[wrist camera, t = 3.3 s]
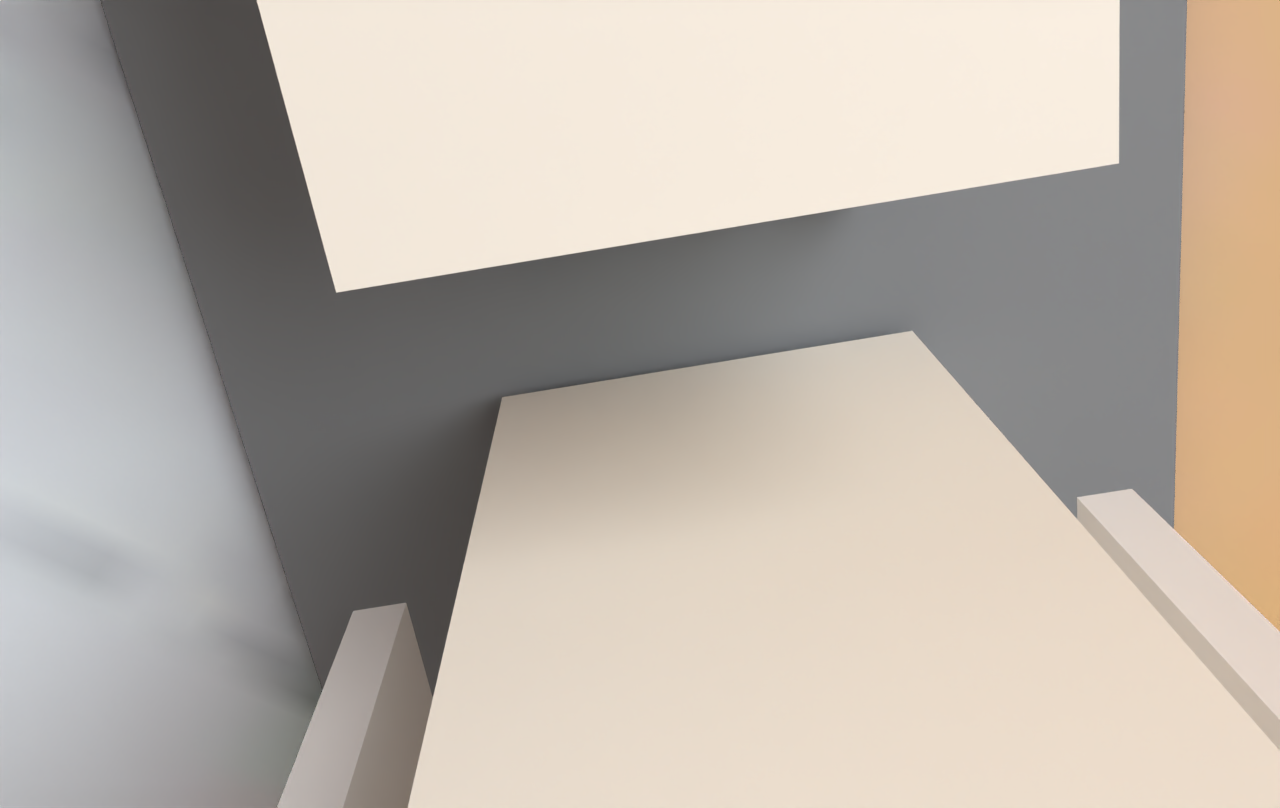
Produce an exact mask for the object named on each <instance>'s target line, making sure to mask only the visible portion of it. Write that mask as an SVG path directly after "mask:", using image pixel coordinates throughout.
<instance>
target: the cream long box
mask: <svg viewBox="0 0 1280 808" xmlns="http://www.w3.org/2000/svg"><path fill="white" fill-rule="evenodd" d="M257 3H258V7H259V11H260V14H261V18H262V22H263V26H264V29H265V33H266V37H267V40H268V44H269V48H270V51H271V55H272V59H273V62H274V66H275V70H276V73H277V77H278V81H279V84H280V88H281V92H282V95H283V99H284V103H285V106H286V110H287V114H288V117H289V121H290V125H291V128H292V132H293V136H294V139H295V143H296V147H297V150H298V154H299V158H300V161H301V165H302V169H303V172H304V176H305V180H306V183H307V187H308V191H309V195H310V198H311V202H312V206H313V209H314V213H315V217H316V220H317V224H318V228H319V231H320V235H321V239H322V242H323V246H324V250H325V253H326V257H327V261H328V264H329V268H330V272H331V275H332V279H333V283H334V286H335V290H336V293H337V292H343V291H349V290H355V289H361V288H367V287H373V286H379V285H385V284H391V283H398V282H404V281H410V280H416V279H422V278H428V277H434V276H440V275H446V274H452V273H458V272H464V271H470V270H476V269H482V268H488V267H494V266H501V265H507V264H513V263H519V262H525V261H531V260H537V259H543V258H549V257H555V256H561V255H567V254H573V253H579V252H585V251H591V250H597V249H603V248H610V247H616V246H622V245H628V244H634V243H640V242H646V241H652V240H658V239H664V238H670V237H676V236H682V235H688V234H694V233H700V232H706V231H712V230H719V229H725V228H731V227H737V226H743V225H749V224H755V223H761V222H767V221H773V220H779V219H785V218H791V217H797V216H803V215H809V214H815V213H822V212H828V211H834V210H840V209H846V208H852V207H858V206H864V205H870V204H876V203H882V202H888V201H894V200H900V199H906V198H912V197H918V196H924V195H931V194H937V193H943V192H949V191H955V190H961V189H967V188H973V187H979V186H985V185H991V184H997V183H1003V182H1009V181H1015V180H1021V179H1027V178H1033V177H1040V176H1046V175H1052V174H1058V173H1064V172H1070V171H1076V170H1082V169H1088V168H1094V167H1100V166H1106V165H1112V164H1118V163H1119V25H1120V0H257Z"/></svg>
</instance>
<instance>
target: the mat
mask: <svg viewBox="0 0 1280 808" xmlns="http://www.w3.org/2000/svg"><path fill="white" fill-rule="evenodd" d="M100 1H101V4H102V7H103V10H104V13H105V16H106V19H107V22H108V26H109V29H110V32H111V35H112V38H113V41H114V44H115V47H116V50H117V53H118V57H119V60H120V63H121V66H122V69H123V72H124V75H125V78H126V81H127V84H128V88H129V91H130V94H131V97H132V100H133V103H134V106H135V109H136V112H137V116H138V119H139V122H140V125H141V128H142V131H143V134H144V137H145V140H146V143H147V147H148V150H149V153H150V156H151V159H152V162H153V165H154V168H155V171H156V175H157V178H158V181H159V184H160V187H161V190H162V193H163V196H164V199H165V202H166V206H167V209H168V212H169V215H170V218H171V221H172V224H173V227H174V230H175V234H176V237H177V240H178V243H179V246H180V249H181V252H182V255H183V258H184V261H185V265H186V268H187V271H188V274H189V277H190V280H191V283H192V286H193V289H194V293H195V296H196V299H197V302H198V305H199V308H200V311H201V314H202V317H203V320H204V324H205V327H206V330H207V333H208V336H209V339H210V342H211V345H212V348H213V351H214V355H215V358H216V361H217V364H218V367H219V370H220V373H221V376H222V379H223V383H224V386H225V389H226V392H227V395H228V398H229V401H230V404H231V407H232V410H233V414H234V417H235V420H236V423H237V426H238V429H239V432H240V435H241V438H242V442H243V445H244V448H245V451H246V454H247V457H248V460H249V463H250V466H251V469H252V473H253V476H254V479H255V482H256V485H257V488H258V491H259V494H260V497H261V501H262V504H263V507H264V510H265V513H266V516H267V519H268V522H269V525H270V528H271V532H272V535H273V538H274V541H275V544H276V547H277V550H278V553H279V556H280V560H281V563H282V566H283V569H284V572H285V575H286V578H287V581H288V584H289V587H290V591H291V594H292V597H293V600H294V603H295V606H296V609H297V612H298V615H299V618H300V622H301V625H302V628H303V631H304V634H305V637H306V640H307V643H308V646H309V650H310V653H311V656H312V659H313V662H314V665H315V668H316V671H317V674H318V677H319V681H320V684H321V687H322V690H323V687H324V685H325V682H326V680H327V677H328V675H329V672H330V669H331V667H332V664H333V662H334V659H335V657H336V654H337V651H338V649H339V646H340V644H341V641H342V639H343V636H344V633H345V631H346V628H347V626H348V623H349V620H350V618H351V615H352V613H353V611H356V610H362V609H368V608H375V607H381V606H388V605H394V604H400V603H406V604H407V607H408V611H409V614H410V618H411V622H412V625H413V629H414V632H415V636H416V640H417V643H418V647H419V650H420V654H421V658H422V661H423V665H424V668H425V672H426V676H427V679H428V683H429V686H430V690H431V694H432V697H433V695H434V691H435V687H436V682H437V678H438V674H439V669H440V665H441V661H442V656H443V652H444V648H445V643H446V639H447V635H448V630H449V626H450V622H451V617H452V613H453V609H454V604H455V600H456V596H457V591H458V587H459V583H460V578H461V574H462V570H463V565H464V561H465V557H466V552H467V548H468V543H469V539H470V535H471V530H472V526H473V522H474V517H475V513H476V509H477V504H478V500H479V496H480V491H481V487H482V483H483V478H484V474H485V470H486V465H487V461H488V457H489V452H490V448H491V444H492V439H493V435H494V431H495V426H496V422H497V418H498V413H499V409H500V405H501V400H502V397H506V396H513V395H519V394H525V393H531V392H537V391H544V390H550V389H556V388H562V387H568V386H574V385H581V384H587V383H593V382H599V381H605V380H612V379H618V378H624V377H630V376H636V375H642V374H649V373H655V372H661V371H667V370H673V369H679V368H686V367H692V366H698V365H704V364H710V363H717V362H723V361H729V360H735V359H741V358H747V357H754V356H760V355H766V354H772V353H778V352H784V351H791V350H797V349H803V348H809V347H815V346H822V345H828V344H834V343H840V342H846V341H852V340H859V339H865V338H871V337H877V336H883V335H890V334H896V333H902V332H908V331H913V332H914V333H915V334H916V336H917V337H918V338H919V339H920V340H921V341H922V342H923V344H924V345H925V346H926V347H927V348H928V349H929V350H930V352H931V353H932V354H933V355H934V356H935V357H936V358H937V360H938V361H939V362H940V363H941V364H942V365H943V366H944V368H945V369H946V370H947V371H948V372H949V373H950V374H951V376H952V377H953V378H954V379H955V380H956V381H957V382H958V384H959V385H960V386H961V387H962V388H963V389H964V390H965V392H966V393H967V394H968V395H969V396H970V397H971V398H972V400H973V401H974V402H975V403H976V404H977V405H978V406H979V408H980V409H981V410H982V411H983V412H984V413H985V414H986V416H987V417H988V418H989V419H990V420H991V421H992V422H993V424H994V425H995V426H996V427H997V428H998V429H999V430H1000V432H1001V433H1002V434H1003V435H1004V436H1005V437H1006V438H1007V440H1008V441H1009V442H1010V443H1011V444H1012V445H1013V446H1014V448H1015V449H1016V450H1017V451H1018V452H1019V453H1020V454H1021V456H1022V457H1023V458H1024V459H1025V460H1026V461H1027V462H1028V464H1029V465H1030V466H1031V467H1032V468H1033V469H1034V470H1035V472H1036V473H1037V474H1038V475H1039V476H1040V477H1041V478H1042V480H1043V481H1044V482H1045V483H1046V484H1047V485H1048V486H1049V488H1050V489H1051V490H1052V491H1053V492H1054V493H1055V494H1056V496H1057V497H1058V498H1059V499H1060V500H1061V501H1062V502H1063V504H1064V505H1065V506H1066V507H1067V508H1068V509H1069V510H1070V512H1071V513H1072V514H1073V515H1074V516H1075V517H1076V518H1077V497H1082V496H1088V495H1095V494H1101V493H1107V492H1114V491H1120V490H1127V489H1133V490H1134V491H1135V492H1136V493H1137V494H1138V495H1139V496H1140V497H1141V498H1142V499H1143V500H1144V501H1145V502H1146V503H1147V504H1148V505H1149V506H1150V507H1151V508H1152V509H1153V510H1154V511H1155V512H1157V513H1158V514H1159V515H1160V516H1161V517H1162V518H1163V519H1164V520H1165V521H1166V522H1167V523H1168V524H1169V525H1170V526H1171V527H1172V528H1173V529H1174V498H1175V458H1176V418H1177V378H1178V338H1179V298H1180V258H1181V218H1182V178H1183V138H1184V98H1185V59H1186V19H1187V0H1120V25H1119V163H1118V164H1112V165H1106V166H1100V167H1094V168H1088V169H1082V170H1076V171H1070V172H1064V173H1058V174H1052V175H1046V176H1040V177H1033V178H1027V179H1021V180H1015V181H1009V182H1003V183H997V184H991V185H985V186H979V187H973V188H967V189H961V190H955V191H949V192H943V193H937V194H931V195H924V196H918V197H912V198H906V199H900V200H894V201H888V202H882V203H876V204H870V205H864V206H858V207H852V208H846V209H840V210H834V211H828V212H822V213H815V214H809V215H803V216H797V217H791V218H785V219H779V220H773V221H767V222H761V223H755V224H749V225H743V226H737V227H731V228H725V229H719V230H712V231H706V232H700V233H694V234H688V235H682V236H676V237H670V238H664V239H658V240H652V241H646V242H640V243H634V244H628V245H622V246H616V247H610V248H603V249H597V250H591V251H585V252H579V253H573V254H567V255H561V256H555V257H549V258H543V259H537V260H531V261H525V262H519V263H513V264H507V265H501V266H494V267H488V268H482V269H476V270H470V271H464V272H458V273H452V274H446V275H440V276H434V277H428V278H422V279H416V280H410V281H404V282H398V283H391V284H385V285H379V286H373V287H367V288H361V289H355V290H349V291H343V292H337V293H336V290H335V286H334V283H333V279H332V275H331V272H330V268H329V264H328V261H327V257H326V253H325V250H324V246H323V242H322V239H321V235H320V231H319V228H318V224H317V220H316V217H315V213H314V209H313V206H312V202H311V198H310V195H309V191H308V187H307V183H306V180H305V176H304V172H303V169H302V165H301V161H300V158H299V154H298V150H297V147H296V143H295V139H294V136H293V132H292V128H291V125H290V121H289V117H288V114H287V110H286V106H285V103H284V99H283V95H282V92H281V88H280V84H279V81H278V77H277V73H276V70H275V66H274V62H273V59H272V55H271V51H270V48H269V44H268V40H267V37H266V33H265V29H264V26H263V22H262V18H261V14H260V11H259V7H258V3H257V0H100Z"/></svg>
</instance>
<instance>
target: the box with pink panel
mask: <svg viewBox="0 0 1280 808" xmlns="http://www.w3.org/2000/svg"><path fill="white" fill-rule="evenodd" d="M408 808H1280V750H1279V749H1278V748H1277V747H1276V746H1275V745H1274V744H1273V742H1272V741H1271V740H1270V739H1269V738H1268V737H1267V736H1266V734H1265V733H1264V732H1263V731H1262V730H1261V729H1260V728H1259V726H1258V725H1257V724H1256V723H1255V722H1254V721H1253V720H1252V718H1251V717H1250V716H1249V715H1248V714H1247V713H1246V712H1245V710H1244V709H1243V708H1242V707H1241V706H1240V705H1239V704H1238V702H1237V701H1236V700H1235V699H1234V698H1233V697H1232V696H1231V694H1230V693H1229V692H1228V691H1227V690H1226V689H1225V688H1224V686H1223V685H1222V684H1221V683H1220V682H1219V681H1218V680H1217V678H1216V677H1215V676H1214V675H1213V674H1212V673H1211V672H1210V670H1209V669H1208V668H1207V667H1206V666H1205V665H1204V664H1203V662H1202V661H1201V660H1200V659H1199V658H1198V657H1197V656H1196V654H1195V653H1194V652H1193V651H1192V650H1191V649H1190V648H1189V646H1188V645H1187V644H1186V643H1185V642H1184V641H1183V640H1182V638H1181V637H1180V636H1179V635H1178V634H1177V633H1176V632H1175V630H1174V629H1173V628H1172V627H1171V626H1170V625H1169V624H1168V622H1167V621H1166V620H1165V619H1164V618H1163V617H1162V616H1161V614H1160V613H1159V612H1158V611H1157V610H1156V609H1155V608H1154V606H1153V605H1152V604H1151V603H1150V602H1149V601H1148V600H1147V598H1146V597H1145V596H1144V595H1143V594H1142V593H1141V592H1140V590H1139V589H1138V588H1137V587H1136V586H1135V585H1134V584H1133V582H1132V581H1131V580H1130V579H1129V578H1128V577H1127V576H1126V574H1125V573H1124V572H1123V571H1122V570H1121V569H1120V568H1119V566H1118V565H1117V564H1116V563H1115V562H1114V561H1113V560H1112V558H1111V557H1110V556H1109V555H1108V554H1107V553H1106V552H1105V550H1104V549H1103V548H1102V547H1101V546H1100V545H1099V544H1098V542H1097V541H1096V540H1095V539H1094V538H1093V537H1092V536H1091V534H1090V533H1089V532H1088V531H1087V530H1086V529H1085V528H1084V526H1083V525H1082V524H1081V523H1080V522H1079V521H1078V520H1077V518H1076V517H1075V516H1074V515H1073V514H1072V513H1071V512H1070V510H1069V509H1068V508H1067V507H1066V506H1065V505H1064V504H1063V502H1062V501H1061V500H1060V499H1059V498H1058V497H1057V496H1056V494H1055V493H1054V492H1053V491H1052V490H1051V489H1050V488H1049V486H1048V485H1047V484H1046V483H1045V482H1044V481H1043V480H1042V478H1041V477H1040V476H1039V475H1038V474H1037V473H1036V472H1035V470H1034V469H1033V468H1032V467H1031V466H1030V465H1029V464H1028V462H1027V461H1026V460H1025V459H1024V458H1023V457H1022V456H1021V454H1020V453H1019V452H1018V451H1017V450H1016V449H1015V448H1014V446H1013V445H1012V444H1011V443H1010V442H1009V441H1008V440H1007V438H1006V437H1005V436H1004V435H1003V434H1002V433H1001V432H1000V430H999V429H998V428H997V427H996V426H995V425H994V424H993V422H992V421H991V420H990V419H989V418H988V417H987V416H986V414H985V413H984V412H983V411H982V410H981V409H980V408H979V406H978V405H977V404H976V403H975V402H974V401H973V400H972V398H971V397H970V396H969V395H968V394H967V393H966V392H965V390H964V389H963V388H962V387H961V386H960V385H959V384H958V382H957V381H956V380H955V379H954V378H953V377H952V376H951V374H950V373H949V372H948V371H947V370H946V369H945V368H944V366H943V365H942V364H941V363H940V362H939V361H938V360H937V358H936V357H935V356H934V355H933V354H932V353H931V352H930V350H929V349H928V348H927V347H926V346H925V345H924V344H923V342H922V341H921V340H920V339H919V338H918V337H917V336H916V334H915V333H914V332H913V331H908V332H902V333H896V334H890V335H883V336H877V337H871V338H865V339H859V340H852V341H846V342H840V343H834V344H828V345H822V346H815V347H809V348H803V349H797V350H791V351H784V352H778V353H772V354H766V355H760V356H754V357H747V358H741V359H735V360H729V361H723V362H717V363H710V364H704V365H698V366H692V367H686V368H679V369H673V370H667V371H661V372H655V373H649V374H642V375H636V376H630V377H624V378H618V379H612V380H605V381H599V382H593V383H587V384H581V385H574V386H568V387H562V388H556V389H550V390H544V391H537V392H531V393H525V394H519V395H513V396H506V397H502V400H501V405H500V409H499V413H498V418H497V422H496V426H495V431H494V435H493V439H492V444H491V448H490V452H489V457H488V461H487V465H486V470H485V474H484V478H483V483H482V487H481V491H480V496H479V500H478V504H477V509H476V513H475V517H474V522H473V526H472V530H471V535H470V539H469V543H468V548H467V552H466V557H465V561H464V565H463V570H462V574H461V578H460V583H459V587H458V591H457V596H456V600H455V604H454V609H453V613H452V617H451V622H450V626H449V630H448V635H447V639H446V643H445V648H444V652H443V656H442V661H441V665H440V669H439V674H438V678H437V682H436V687H435V691H434V695H433V700H432V704H431V708H430V713H429V717H428V721H427V726H426V730H425V734H424V739H423V743H422V747H421V752H420V756H419V760H418V765H417V769H416V773H415V778H414V782H413V786H412V791H411V795H410V799H409V804H408Z"/></svg>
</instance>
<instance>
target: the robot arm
mask: <svg viewBox="0 0 1280 808" xmlns="http://www.w3.org/2000/svg"><path fill="white" fill-rule="evenodd" d="M1077 520H1078V521H1079V522H1080V523H1081V524H1082V525H1083V526H1084V528H1085V529H1086V530H1087V531H1088V532H1089V533H1090V534H1091V536H1092V537H1093V538H1094V539H1095V540H1096V541H1097V542H1098V544H1099V545H1100V546H1101V547H1102V548H1103V549H1104V550H1105V552H1106V553H1107V554H1108V555H1109V556H1110V557H1111V558H1112V560H1113V561H1114V562H1115V563H1116V564H1117V565H1118V566H1119V568H1120V569H1121V570H1122V571H1123V572H1124V573H1125V574H1126V576H1127V577H1128V578H1129V579H1130V580H1131V581H1132V582H1133V584H1134V585H1135V586H1136V587H1137V588H1138V589H1139V590H1140V592H1141V593H1142V594H1143V595H1144V596H1145V597H1146V598H1147V600H1148V601H1149V602H1150V603H1151V604H1152V605H1153V606H1154V608H1155V609H1156V610H1157V611H1158V612H1159V613H1160V614H1161V616H1162V617H1163V618H1164V619H1165V620H1166V621H1167V622H1168V624H1169V625H1170V626H1171V627H1172V628H1173V629H1174V630H1175V632H1176V633H1177V634H1178V635H1179V636H1180V637H1181V638H1182V640H1183V641H1184V642H1185V643H1186V644H1187V645H1188V646H1189V648H1190V649H1191V650H1192V651H1193V652H1194V653H1195V654H1196V656H1197V657H1198V658H1199V659H1200V660H1201V661H1202V662H1203V664H1204V665H1205V666H1206V667H1207V668H1208V669H1209V670H1210V672H1211V673H1212V674H1213V675H1214V676H1215V677H1216V678H1217V680H1218V681H1219V682H1220V683H1221V684H1222V685H1223V686H1224V688H1225V689H1226V690H1227V691H1228V692H1229V693H1230V694H1231V696H1232V697H1233V698H1234V699H1235V700H1236V701H1237V702H1238V704H1239V705H1240V706H1241V707H1242V708H1243V709H1244V710H1245V712H1246V713H1247V714H1248V715H1249V716H1250V717H1251V718H1252V720H1253V721H1254V722H1255V723H1256V724H1257V725H1258V726H1259V728H1260V729H1261V730H1262V731H1263V732H1264V733H1265V734H1266V736H1267V737H1268V738H1269V739H1270V740H1271V741H1272V742H1273V744H1274V745H1275V746H1276V747H1277V748H1278V749H1279V750H1280V632H1279V631H1278V630H1277V629H1276V628H1275V627H1274V626H1273V625H1272V624H1271V623H1270V622H1269V621H1268V620H1267V619H1266V618H1265V617H1264V616H1263V615H1262V614H1261V613H1260V612H1259V611H1258V610H1257V609H1256V608H1255V607H1254V606H1253V605H1252V604H1251V603H1249V602H1248V601H1247V600H1246V599H1245V598H1244V597H1243V596H1242V595H1241V594H1240V593H1239V592H1238V591H1237V590H1236V589H1235V588H1234V587H1233V586H1232V585H1231V584H1230V583H1229V582H1228V581H1227V580H1226V579H1225V578H1224V577H1223V576H1222V575H1221V574H1220V573H1218V572H1217V571H1216V570H1215V569H1214V568H1213V567H1212V566H1211V565H1210V564H1209V563H1208V562H1207V561H1206V560H1205V559H1204V558H1203V557H1202V556H1201V555H1200V554H1199V553H1198V552H1197V551H1196V550H1195V549H1194V548H1193V547H1192V546H1191V545H1190V544H1189V543H1188V542H1186V541H1185V540H1184V539H1183V538H1182V537H1181V536H1180V535H1179V534H1178V533H1177V532H1176V531H1175V530H1174V529H1173V528H1172V527H1171V526H1170V525H1169V524H1168V523H1167V522H1166V521H1165V520H1164V519H1163V518H1162V517H1161V516H1160V515H1159V514H1158V513H1157V512H1155V511H1154V510H1153V509H1152V508H1151V507H1150V506H1149V505H1148V504H1147V503H1146V502H1145V501H1144V500H1143V499H1142V498H1141V497H1140V496H1139V495H1138V494H1137V493H1136V492H1135V491H1134V490H1133V489H1127V490H1120V491H1114V492H1107V493H1101V494H1095V495H1088V496H1082V497H1077ZM432 700H433V697H432V694H431V690H430V686H429V683H428V679H427V676H426V672H425V668H424V665H423V661H422V658H421V654H420V650H419V647H418V643H417V640H416V636H415V632H414V629H413V625H412V622H411V618H410V614H409V611H408V607H407V604H406V603H400V604H394V605H388V606H381V607H375V608H368V609H362V610H356V611H353V613H352V615H351V618H350V620H349V623H348V626H347V628H346V631H345V633H344V636H343V639H342V641H341V644H340V646H339V649H338V651H337V654H336V657H335V659H334V662H333V664H332V667H331V669H330V672H329V675H328V677H327V680H326V682H325V685H324V687H323V690H322V693H321V695H320V698H319V700H318V703H317V706H316V708H315V711H314V713H313V716H312V718H311V721H310V724H309V726H308V729H307V731H306V734H305V736H304V739H303V742H302V744H301V747H300V749H299V752H298V754H297V757H296V760H295V762H294V765H293V767H292V770H291V773H290V775H289V778H288V780H287V783H286V785H285V788H284V791H283V793H282V796H281V798H280V801H279V803H278V806H277V808H408V804H409V799H410V795H411V791H412V786H413V782H414V778H415V773H416V769H417V765H418V760H419V756H420V752H421V747H422V743H423V739H424V734H425V730H426V726H427V721H428V717H429V713H430V708H431V704H432Z"/></svg>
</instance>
